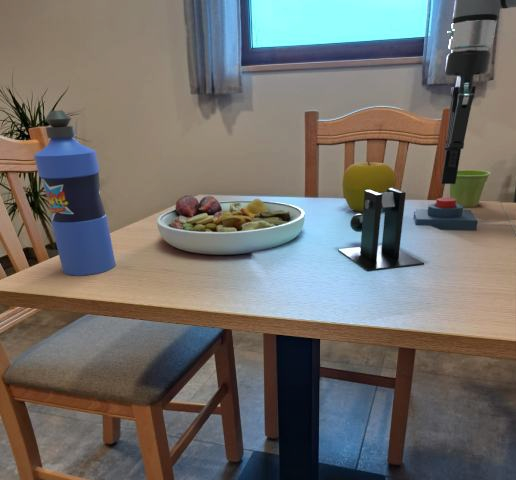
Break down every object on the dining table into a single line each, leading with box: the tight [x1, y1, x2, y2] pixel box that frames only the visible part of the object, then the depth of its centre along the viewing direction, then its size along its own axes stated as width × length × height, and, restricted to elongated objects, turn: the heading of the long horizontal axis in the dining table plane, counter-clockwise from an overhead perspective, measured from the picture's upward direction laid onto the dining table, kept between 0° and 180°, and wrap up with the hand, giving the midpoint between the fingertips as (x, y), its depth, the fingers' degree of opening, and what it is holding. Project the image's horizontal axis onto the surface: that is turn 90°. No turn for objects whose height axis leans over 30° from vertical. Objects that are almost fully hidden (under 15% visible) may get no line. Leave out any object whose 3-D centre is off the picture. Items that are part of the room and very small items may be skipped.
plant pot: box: [449, 169, 491, 208], centre depth 111 cm, size 9×9×9 cm
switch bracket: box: [337, 188, 425, 272], centre depth 77 cm, size 12×10×12 cm
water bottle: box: [33, 110, 116, 277], centre depth 77 cm, size 9×9×25 cm
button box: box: [412, 202, 478, 232], centre depth 100 cm, size 12×10×4 cm
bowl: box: [156, 194, 306, 256], centre depth 95 cm, size 30×30×8 cm
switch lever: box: [349, 192, 395, 233], centre depth 80 cm, size 13×3×3 cm
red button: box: [435, 197, 457, 208], centre depth 99 cm, size 4×4×2 cm
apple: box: [341, 161, 397, 213], centre depth 114 cm, size 13×13×11 cm
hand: (448, 183), depth 97 cm, fingers closed
